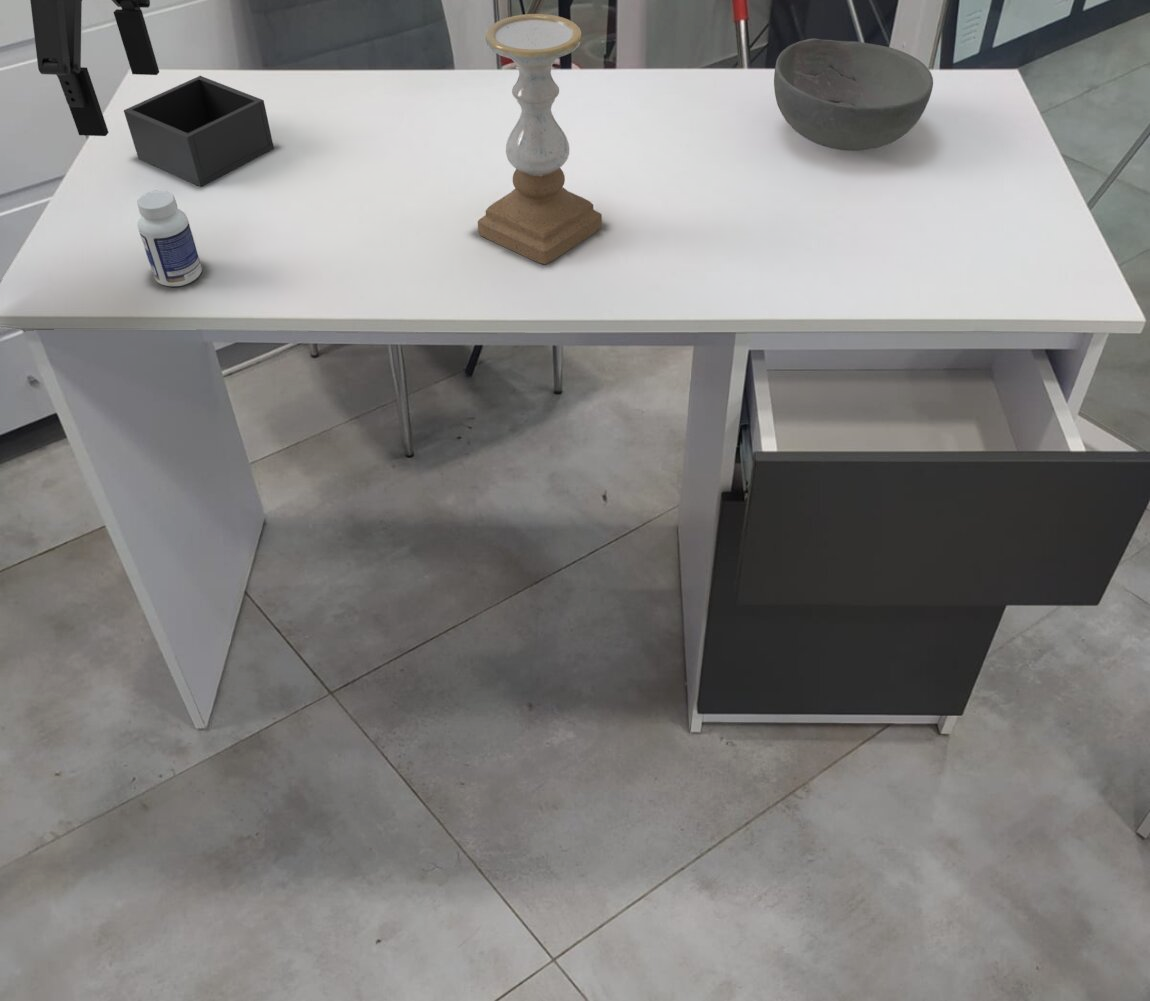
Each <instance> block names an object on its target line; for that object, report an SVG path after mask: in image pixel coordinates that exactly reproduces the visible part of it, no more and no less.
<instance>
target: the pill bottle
mask: <svg viewBox="0 0 1150 1001" xmlns="http://www.w3.org/2000/svg"><path fill="white" fill-rule="evenodd" d="M136 205H137V208H138V213H139V215H140V217H139V218H138V221H137V229H138V232H139V235H140V238H141V241H142V245H143V247H144V251H145V253H146V257H147V259H148V262H149V266H150V269H151V271H152V272H151V273H152V275H153V278H154V279H155V281H156V282H157V283H159V284H160V285H162V286H166V287H182V286H185V285H188V284H190V283H192V282H194V281H196V280H197V278H199V277H200V275H201V273H202V270H203V268H202V264H201V261H200V256H199V253H198V250H197V246H196V243H195V240H194V235H193V232H192V229H191V226H190V222H189V218H188V216H187V214H186V213H185V211H183V210H182V209H180V208H178V203H177V199H176V198H175V195H174V193H172V192H171V191H168V190H164V189H163V190H162V189H161V190H159V189H158V190H151V191H148V192H146V193H143V194H142V195H141V196H139V198H137V201H136Z"/></svg>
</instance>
